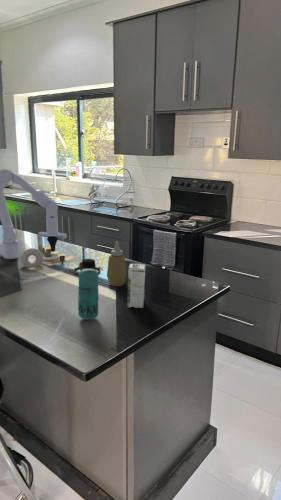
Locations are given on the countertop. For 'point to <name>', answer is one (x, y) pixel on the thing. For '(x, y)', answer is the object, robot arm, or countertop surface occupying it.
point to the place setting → (80, 266)
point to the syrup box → (136, 285)
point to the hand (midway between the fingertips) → (53, 251)
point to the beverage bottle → (88, 290)
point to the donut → (31, 252)
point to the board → (57, 261)
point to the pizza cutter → (49, 255)
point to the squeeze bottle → (116, 267)
